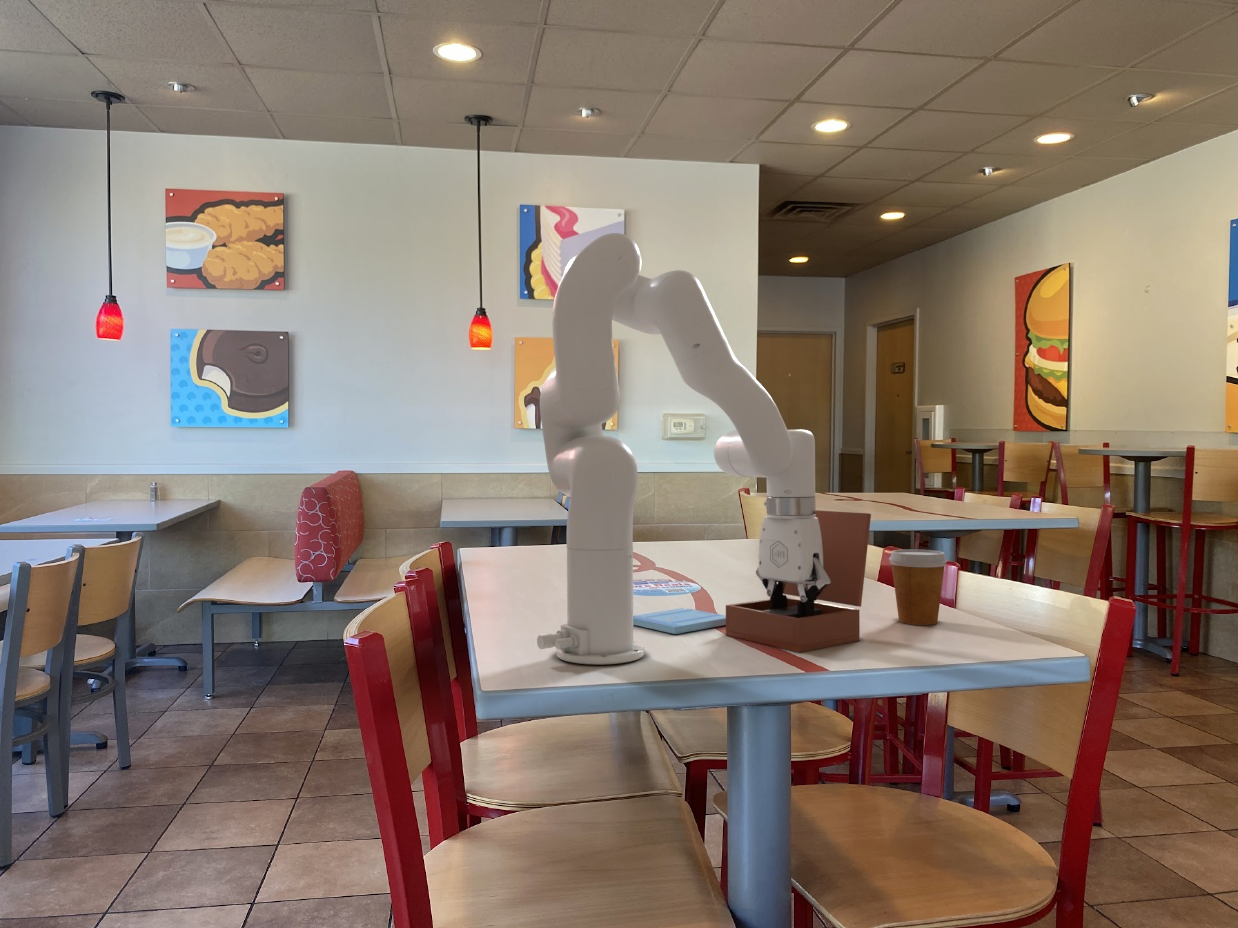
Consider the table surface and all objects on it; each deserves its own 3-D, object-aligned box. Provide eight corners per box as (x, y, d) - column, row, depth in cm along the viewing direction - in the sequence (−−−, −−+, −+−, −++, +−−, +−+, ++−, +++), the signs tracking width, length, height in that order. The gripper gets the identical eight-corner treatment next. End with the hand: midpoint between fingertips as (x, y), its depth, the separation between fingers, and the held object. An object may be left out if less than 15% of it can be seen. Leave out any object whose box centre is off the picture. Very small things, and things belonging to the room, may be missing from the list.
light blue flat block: (684, 614, 156) (684, 607, 156) (732, 623, 147) (732, 616, 147) (627, 623, 148) (626, 616, 148) (675, 634, 138) (675, 626, 138)
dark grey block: (786, 632, 131) (786, 615, 131) (762, 627, 135) (762, 610, 135) (821, 625, 136) (821, 609, 136) (798, 621, 140) (797, 605, 140)
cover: (868, 513, 134) (871, 513, 135) (793, 508, 147) (796, 509, 147) (857, 606, 133) (861, 606, 133) (783, 593, 146) (786, 594, 146)
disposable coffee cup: (918, 615, 154) (917, 548, 154) (959, 624, 146) (959, 553, 146) (877, 619, 150) (876, 550, 150) (917, 629, 142) (917, 556, 142)
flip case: (799, 652, 125) (799, 619, 125) (725, 634, 138) (725, 605, 138) (859, 640, 133) (859, 609, 133) (785, 625, 146) (784, 596, 146)
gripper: (735, 507, 140) (737, 618, 140) (816, 511, 126) (817, 635, 127) (768, 505, 145) (769, 613, 145) (850, 509, 131) (851, 629, 131)
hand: (792, 622), depth 136 cm, fingers closed on dark grey block, 5 cm apart
